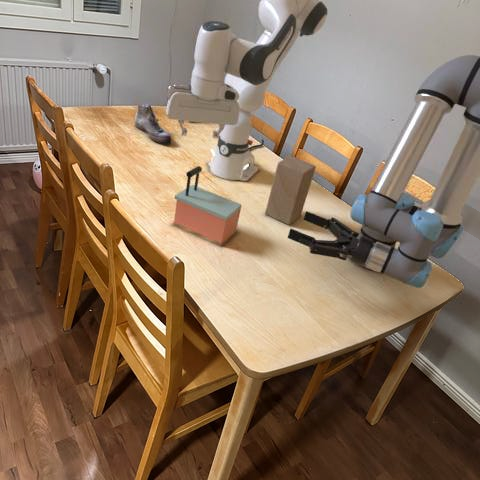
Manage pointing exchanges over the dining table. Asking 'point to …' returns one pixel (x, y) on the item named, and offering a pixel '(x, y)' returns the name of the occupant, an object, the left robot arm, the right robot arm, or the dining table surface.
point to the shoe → (151, 124)
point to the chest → (205, 223)
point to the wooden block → (289, 189)
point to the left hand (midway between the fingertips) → (199, 136)
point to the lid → (206, 198)
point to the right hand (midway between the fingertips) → (297, 223)
